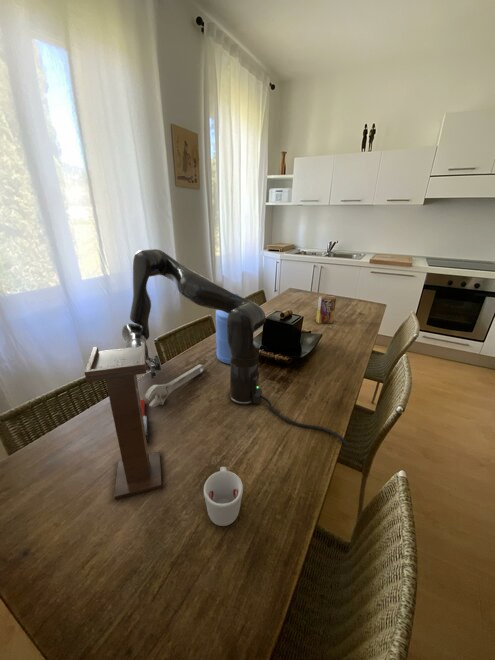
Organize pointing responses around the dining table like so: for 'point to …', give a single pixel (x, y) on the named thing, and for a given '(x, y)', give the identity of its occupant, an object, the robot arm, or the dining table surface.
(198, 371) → the wrench
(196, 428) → the dining table surface
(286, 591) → the dining table surface
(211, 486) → the cup
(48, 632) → the dining table surface
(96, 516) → the dining table surface
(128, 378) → the stand
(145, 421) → the black and white bar
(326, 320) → the candy box
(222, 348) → the water jug
